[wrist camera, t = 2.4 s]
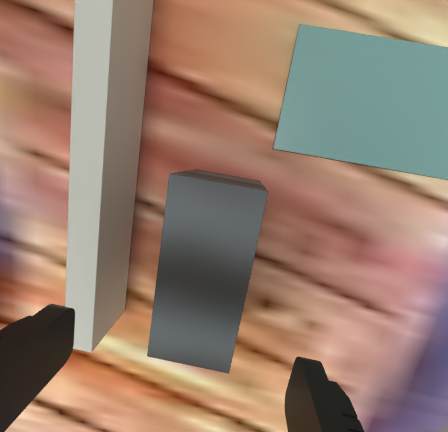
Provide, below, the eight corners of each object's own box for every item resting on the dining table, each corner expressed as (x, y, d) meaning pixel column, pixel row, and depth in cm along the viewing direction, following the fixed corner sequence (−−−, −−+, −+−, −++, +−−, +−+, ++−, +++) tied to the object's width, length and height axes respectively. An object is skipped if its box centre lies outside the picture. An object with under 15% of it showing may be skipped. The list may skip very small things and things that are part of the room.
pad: (298, 26, 16) (300, 24, 16) (513, 60, 16) (518, 58, 16) (272, 148, 18) (273, 148, 18) (464, 182, 18) (468, 183, 17)
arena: (131, -92, 16) (81, -206, 11) (617, -21, 15) (804, -112, 10) (103, 306, 22) (64, 346, 17) (439, 374, 21) (497, 438, 16)
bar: (195, 169, 19) (169, 173, 12) (259, 180, 19) (268, 191, 12) (177, 294, 22) (147, 356, 15) (233, 306, 21) (229, 373, 15)
